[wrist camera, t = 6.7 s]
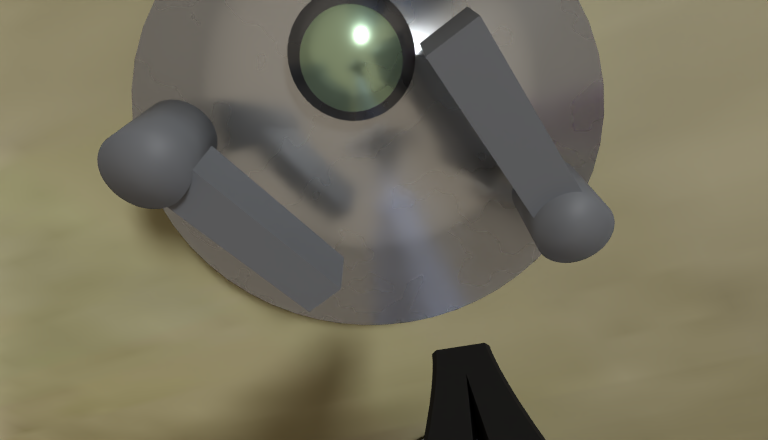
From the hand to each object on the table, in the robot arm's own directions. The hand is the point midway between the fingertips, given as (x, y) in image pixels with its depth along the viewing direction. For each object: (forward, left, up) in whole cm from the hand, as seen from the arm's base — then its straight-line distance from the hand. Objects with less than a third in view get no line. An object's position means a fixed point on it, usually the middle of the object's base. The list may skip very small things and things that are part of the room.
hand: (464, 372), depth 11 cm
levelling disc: (0, +4, -8) cm, 9 cm away
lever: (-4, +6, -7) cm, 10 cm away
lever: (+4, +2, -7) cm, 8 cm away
